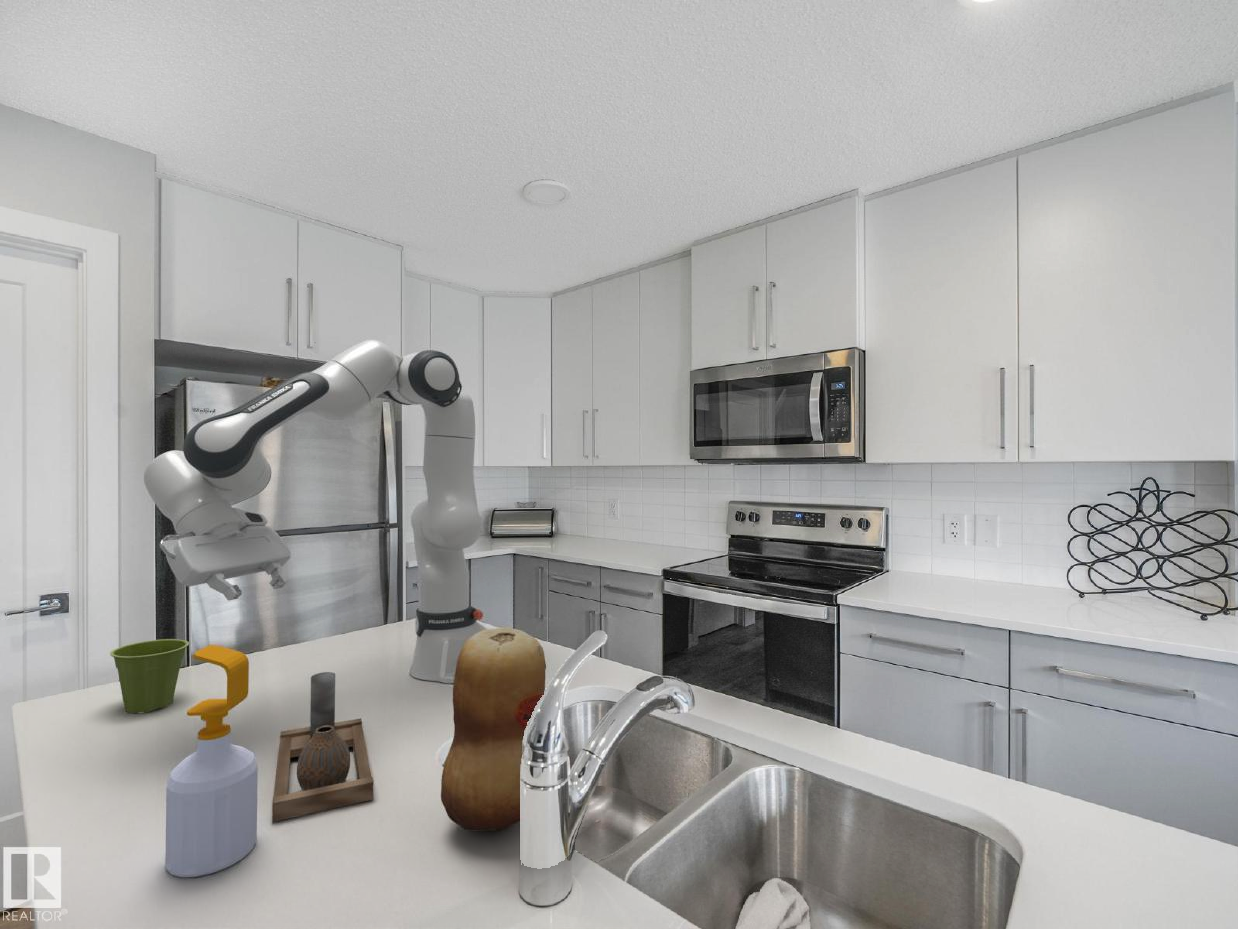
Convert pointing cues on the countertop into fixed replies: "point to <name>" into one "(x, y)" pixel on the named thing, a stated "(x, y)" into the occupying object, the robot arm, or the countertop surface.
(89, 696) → the countertop surface
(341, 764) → the vase
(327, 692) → the strip frame
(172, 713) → the countertop surface
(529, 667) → the butternut squash
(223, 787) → the soap bottle
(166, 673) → the plant pot
